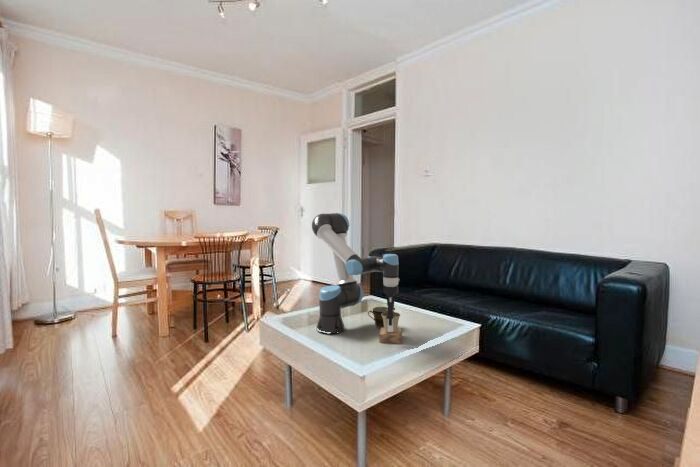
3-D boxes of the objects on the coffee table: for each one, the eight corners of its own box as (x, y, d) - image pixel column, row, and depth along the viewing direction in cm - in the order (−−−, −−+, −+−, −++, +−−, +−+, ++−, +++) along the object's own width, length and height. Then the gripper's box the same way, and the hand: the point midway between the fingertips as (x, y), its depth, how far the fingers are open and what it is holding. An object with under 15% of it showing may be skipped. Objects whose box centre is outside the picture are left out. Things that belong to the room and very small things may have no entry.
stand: (379, 342, 176) (379, 334, 176) (380, 334, 187) (380, 327, 187) (401, 343, 174) (401, 335, 174) (401, 335, 185) (401, 328, 185)
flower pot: (399, 328, 185) (399, 311, 184) (400, 334, 175) (400, 317, 175) (381, 327, 186) (381, 311, 185) (381, 334, 176) (381, 316, 176)
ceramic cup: (387, 323, 206) (387, 306, 205) (393, 328, 196) (393, 310, 195) (365, 325, 203) (365, 307, 202) (370, 330, 193) (370, 312, 192)
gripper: (398, 291, 166) (398, 335, 167) (398, 280, 191) (398, 319, 192) (381, 290, 167) (382, 335, 168) (384, 280, 192) (384, 319, 193)
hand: (390, 327), depth 180 cm, fingers open, 13 cm apart
